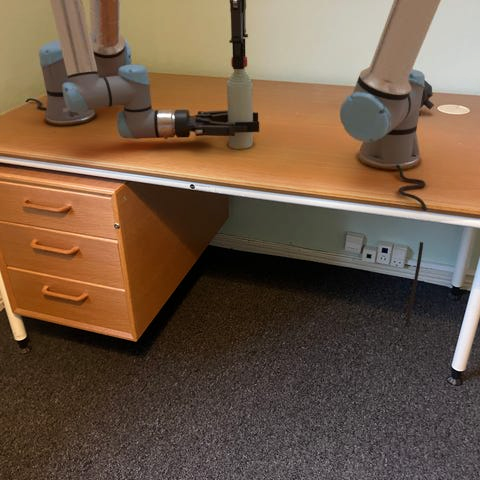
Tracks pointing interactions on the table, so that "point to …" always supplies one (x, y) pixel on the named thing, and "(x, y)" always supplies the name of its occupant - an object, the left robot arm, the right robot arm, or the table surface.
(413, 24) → the right robot arm
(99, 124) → the table surface
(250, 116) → the bottle
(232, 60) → the cap
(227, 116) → the left robot arm
